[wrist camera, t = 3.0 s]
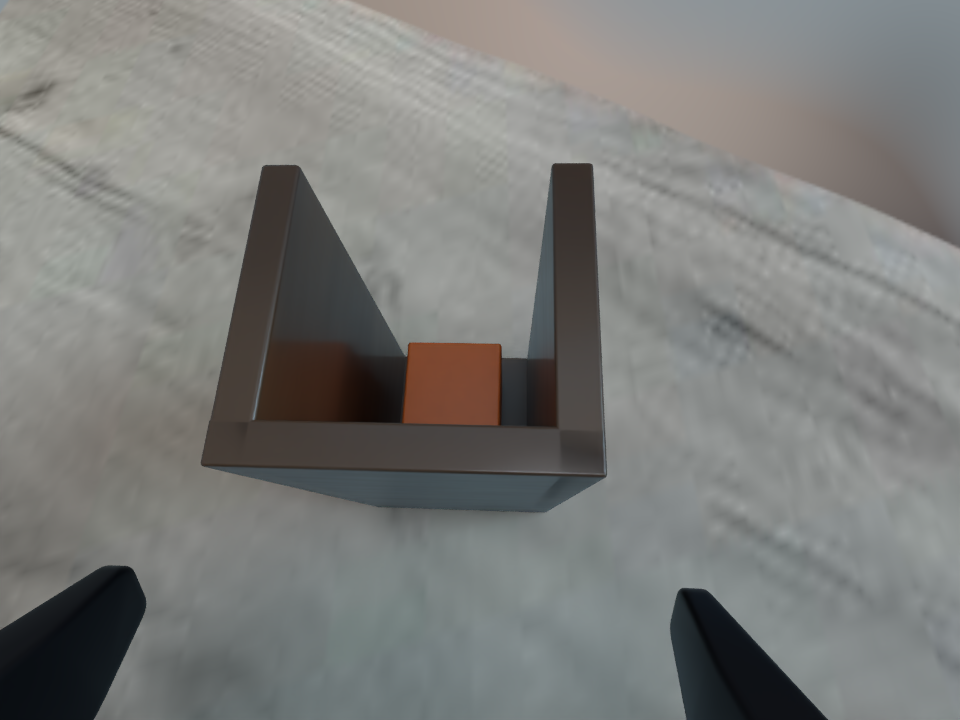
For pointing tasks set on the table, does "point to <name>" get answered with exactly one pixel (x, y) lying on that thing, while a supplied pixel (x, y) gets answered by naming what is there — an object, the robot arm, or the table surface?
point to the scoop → (403, 372)
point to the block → (453, 384)
